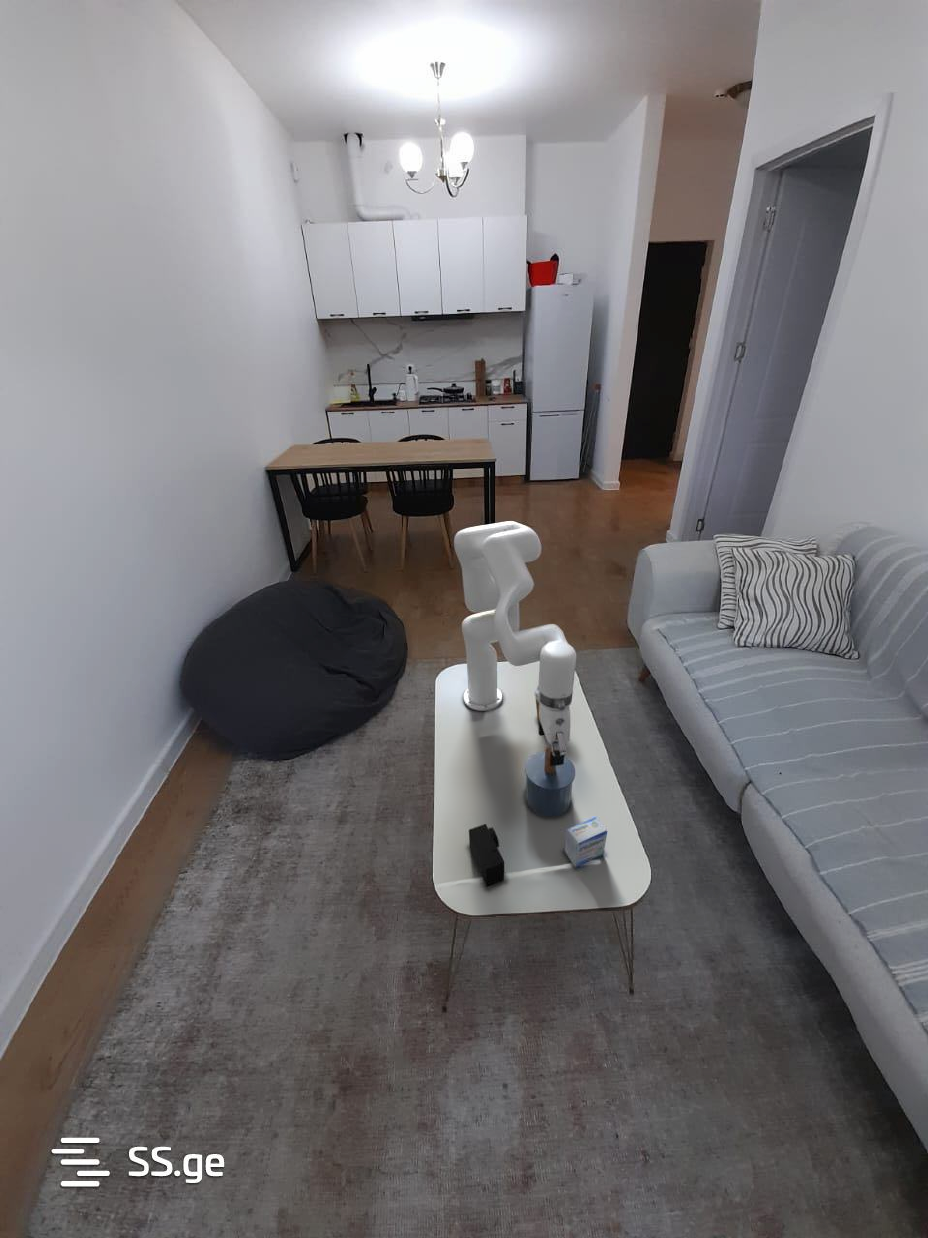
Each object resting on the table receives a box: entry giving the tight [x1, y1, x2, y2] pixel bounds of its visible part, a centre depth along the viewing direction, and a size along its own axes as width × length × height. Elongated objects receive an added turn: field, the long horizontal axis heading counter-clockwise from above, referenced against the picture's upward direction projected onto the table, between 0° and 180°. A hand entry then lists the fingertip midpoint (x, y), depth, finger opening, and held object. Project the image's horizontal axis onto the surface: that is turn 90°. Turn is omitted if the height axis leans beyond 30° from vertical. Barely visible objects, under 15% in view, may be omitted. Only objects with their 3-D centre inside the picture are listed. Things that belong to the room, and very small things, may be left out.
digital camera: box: [468, 823, 505, 888], centre depth 111 cm, size 10×5×7 cm, turn 21°
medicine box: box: [564, 816, 608, 868], centre depth 112 cm, size 8×4×9 cm, turn 114°
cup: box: [525, 777, 573, 817], centre depth 125 cm, size 11×11×10 cm
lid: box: [524, 746, 576, 791], centre depth 120 cm, size 12×12×7 cm
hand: (550, 748), depth 119 cm, fingers open, 9 cm apart
